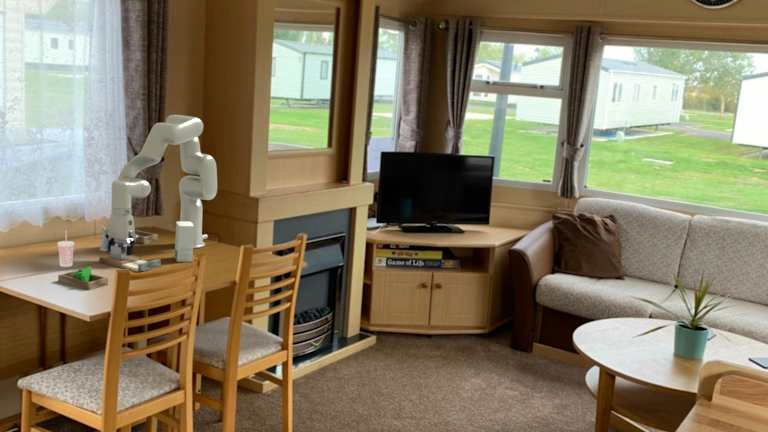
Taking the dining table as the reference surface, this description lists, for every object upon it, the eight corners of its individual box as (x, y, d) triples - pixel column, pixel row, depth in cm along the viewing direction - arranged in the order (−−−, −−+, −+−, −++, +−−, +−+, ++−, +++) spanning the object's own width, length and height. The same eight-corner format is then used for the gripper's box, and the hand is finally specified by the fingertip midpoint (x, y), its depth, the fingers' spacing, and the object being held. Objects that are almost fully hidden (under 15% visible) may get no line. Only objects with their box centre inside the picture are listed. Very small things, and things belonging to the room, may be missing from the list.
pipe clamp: (80, 278, 281) (80, 266, 280) (91, 278, 282) (91, 266, 281) (73, 287, 270) (73, 275, 269) (84, 287, 271) (84, 275, 270)
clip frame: (130, 235, 353) (130, 228, 353) (157, 241, 347) (157, 234, 346) (116, 238, 346) (116, 231, 345) (144, 244, 339) (144, 237, 338)
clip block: (120, 255, 310) (120, 240, 309) (130, 257, 308) (131, 243, 307) (110, 257, 305) (110, 243, 304) (120, 260, 303) (121, 245, 302)
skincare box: (174, 257, 321) (175, 221, 318) (190, 256, 324) (191, 221, 321) (177, 262, 314) (178, 225, 311) (193, 261, 316) (194, 225, 314)
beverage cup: (58, 267, 293) (58, 232, 290) (57, 263, 298) (56, 228, 296) (75, 266, 296) (75, 231, 293) (73, 262, 301) (73, 228, 299)
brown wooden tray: (76, 276, 283) (76, 270, 283) (107, 284, 277) (108, 278, 276) (58, 281, 275) (58, 275, 275) (89, 289, 269) (89, 283, 269)
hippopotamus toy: (124, 254, 319) (125, 232, 318) (93, 249, 323) (93, 228, 321) (139, 249, 330) (139, 228, 328) (109, 244, 333) (109, 223, 331)
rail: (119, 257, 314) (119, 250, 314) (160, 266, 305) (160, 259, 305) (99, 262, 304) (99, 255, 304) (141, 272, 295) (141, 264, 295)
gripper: (144, 213, 303) (143, 255, 306) (112, 207, 310) (111, 247, 313) (130, 215, 296) (130, 258, 299) (97, 209, 303) (97, 251, 306)
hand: (120, 253), depth 306 cm, fingers open, 9 cm apart
